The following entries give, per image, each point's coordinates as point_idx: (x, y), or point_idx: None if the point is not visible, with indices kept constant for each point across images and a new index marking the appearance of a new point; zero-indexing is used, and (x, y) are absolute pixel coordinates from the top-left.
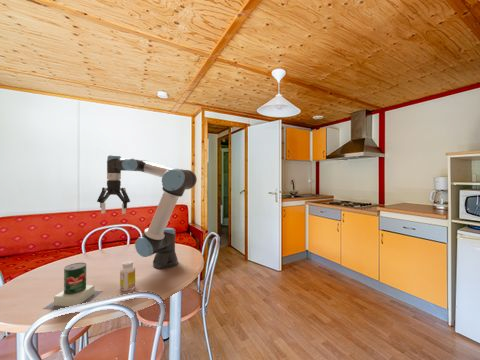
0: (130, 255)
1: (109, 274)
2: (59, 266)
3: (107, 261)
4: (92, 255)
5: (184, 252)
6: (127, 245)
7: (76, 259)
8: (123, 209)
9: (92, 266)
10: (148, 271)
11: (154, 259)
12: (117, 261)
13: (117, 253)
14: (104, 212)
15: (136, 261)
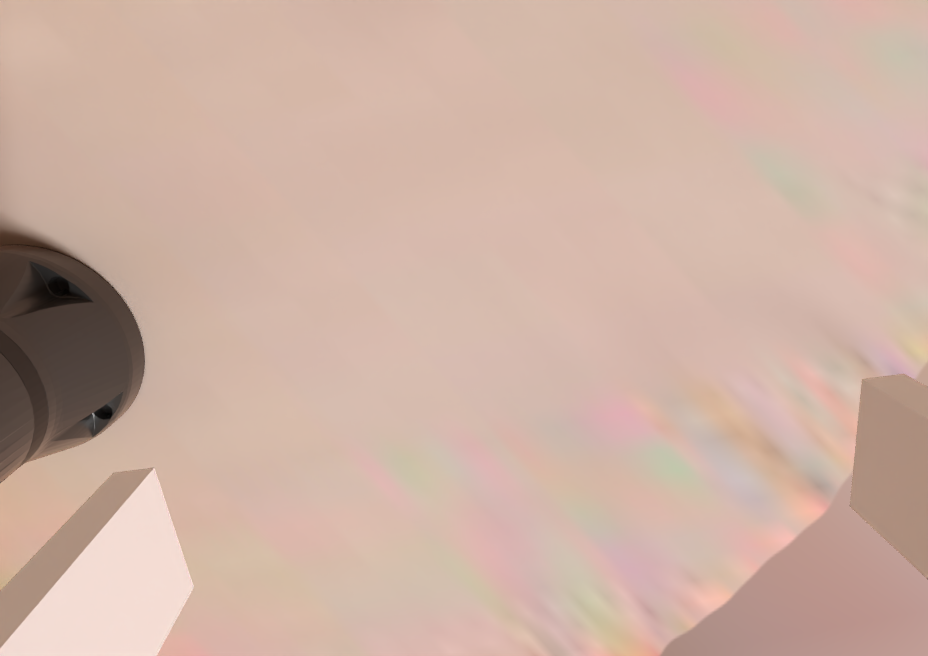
0: (476, 439)
1: (335, 42)
2: (912, 94)
3: (573, 282)
4: (810, 369)
5: None
6: (674, 625)
7: (883, 261)
8: (20, 605)
9: (618, 159)
10: (56, 173)
11: (64, 302)
12: (486, 301)
13: (624, 453)
14: (867, 483)
15: (323, 336)
